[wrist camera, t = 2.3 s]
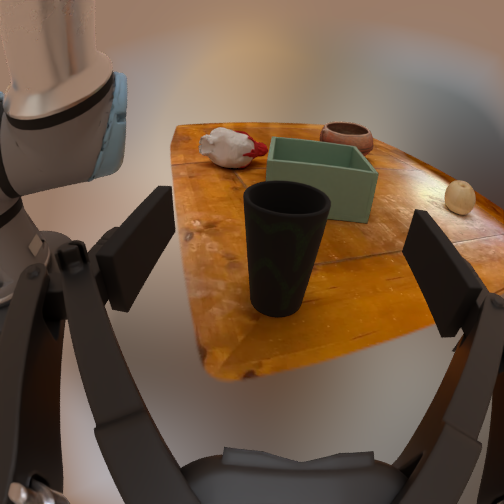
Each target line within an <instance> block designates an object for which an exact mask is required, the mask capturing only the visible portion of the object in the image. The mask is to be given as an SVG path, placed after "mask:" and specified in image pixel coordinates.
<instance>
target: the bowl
mask: <svg viewBox="0 0 504 504" xmlns="http://www.w3.org/2000/svg"><path fill="white" fill-rule="evenodd" d="M320 142H328V143H336V144H343V145H349V146H356V147H357V149H358V150H359V151H360V152H361V153H362V154H363V156H366V155H367V154H368V153H369V152H370V151H371V150H372V149H373V137H372V134H371V132H370V130H369V129H367V128H366V127H364V126H362V125H359V124H356V123H350V122H330V123H327V124H325V125H324V127H323V129H322V131H321V134H320Z"/></svg>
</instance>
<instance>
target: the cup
mask: <svg viewBox="0 0 504 504" xmlns="http://www.w3.org/2000/svg"><path fill="white" fill-rule="evenodd" d="M243 198H244V213H245V228H246V242H247V257H248V271H249V285H250V299H251V303H252V305H253V306H254V308H255V309H256V310H258V311H259V312H260V313H262V314H264V315H267V316H271V317H285V316H289V315H291V314H293V313H295V312H296V311H297V310H298V309H299V308H300V306H301V303H302V300H303V297H304V294H305V291H306V288H307V285H308V282H309V278H310V275H311V272H312V269H313V266H314V262H315V259H316V256H317V253H318V249H319V246H320V243H321V239H322V236H323V232H324V229H325V225H326V222H327V218H328V215H329V211H330V208H331V201H330V199H329V197H328V196H327V195H326V194H325V193H324V192H322V191H321V190H319V189H317V188H315V187H312V186H310V185H306V184H303V183H298V182H293V181H281V180H274V181H265V182H259V183H257V184H254V185H252V186H250V187H248V188H247V189H246V190H245V192H244V196H243Z"/></svg>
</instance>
